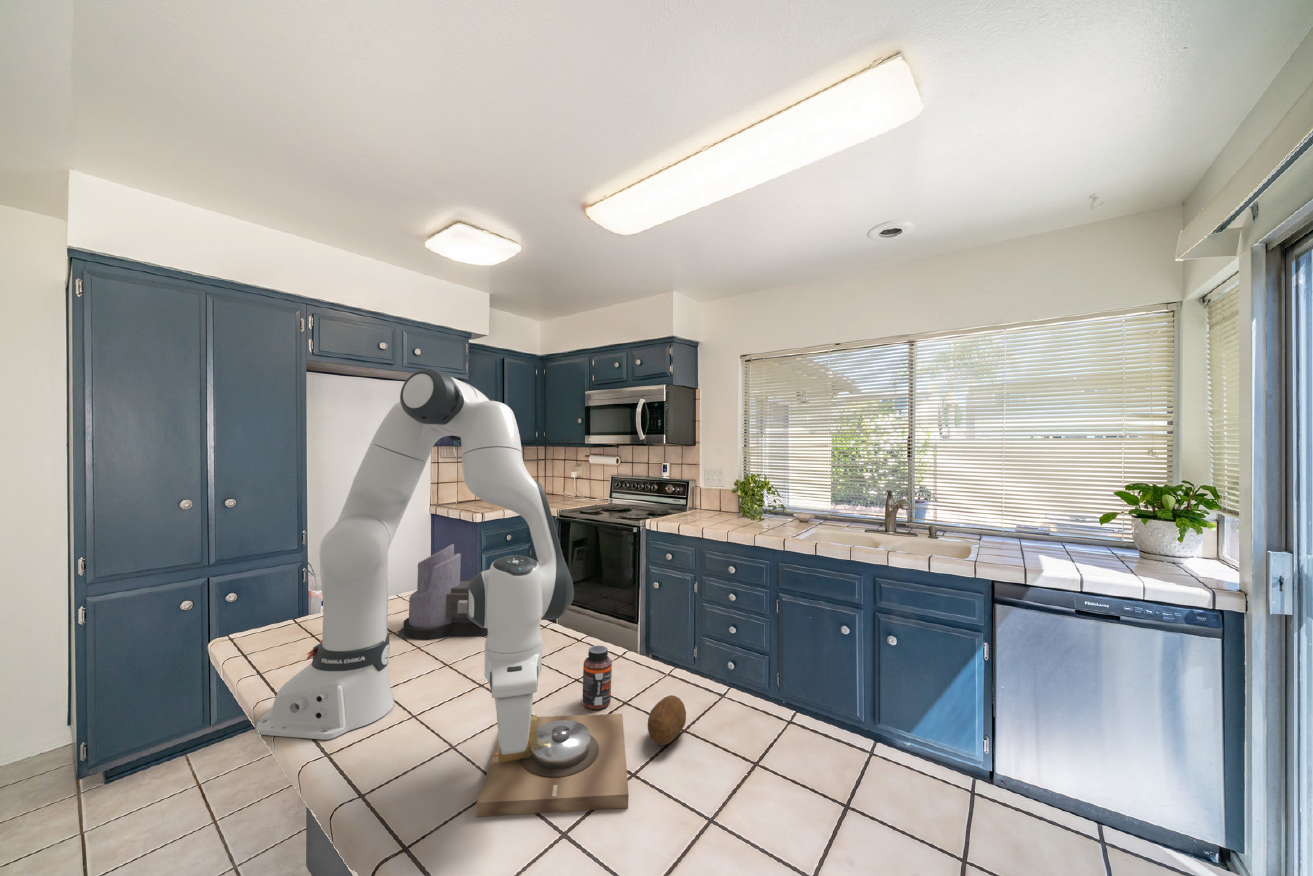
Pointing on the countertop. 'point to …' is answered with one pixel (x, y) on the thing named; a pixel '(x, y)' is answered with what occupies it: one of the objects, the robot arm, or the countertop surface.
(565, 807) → the panel
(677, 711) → the potato
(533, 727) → the grey round gold-handled piece
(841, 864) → the countertop surface
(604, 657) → the supplement bottle
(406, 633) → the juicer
